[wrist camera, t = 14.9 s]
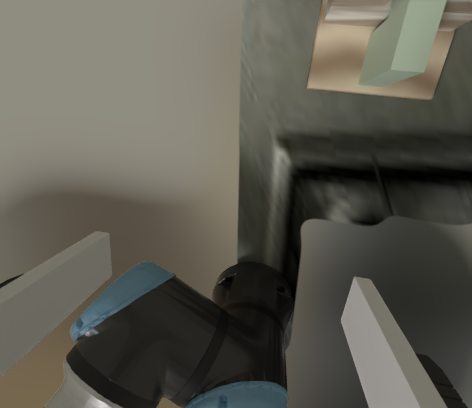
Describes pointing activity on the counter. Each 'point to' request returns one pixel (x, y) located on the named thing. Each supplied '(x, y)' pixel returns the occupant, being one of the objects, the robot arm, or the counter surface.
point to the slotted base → (356, 41)
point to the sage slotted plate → (401, 42)
